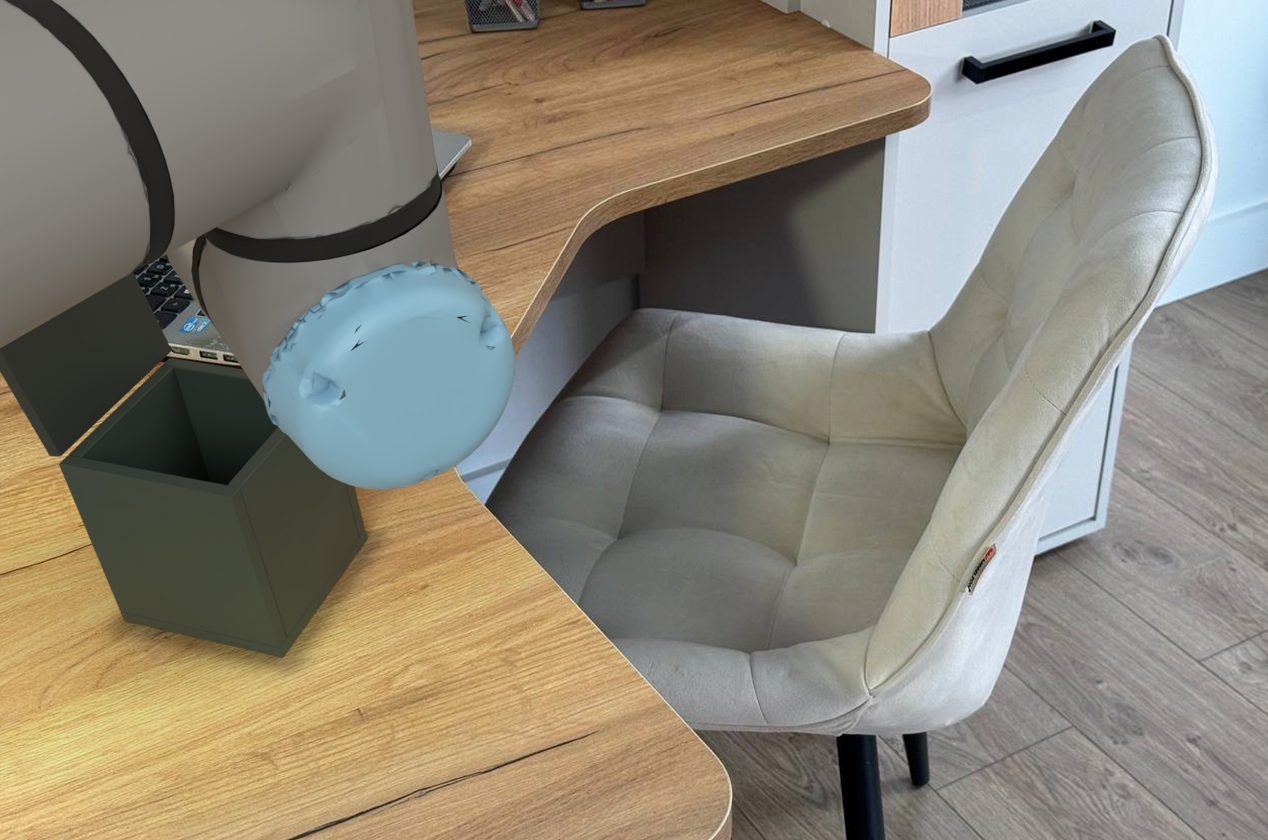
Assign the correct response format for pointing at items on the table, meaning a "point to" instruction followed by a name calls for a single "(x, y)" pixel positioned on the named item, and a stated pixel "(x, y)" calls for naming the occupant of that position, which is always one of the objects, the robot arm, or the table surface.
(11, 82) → the robot arm
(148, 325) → the trash lid
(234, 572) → the trash bin
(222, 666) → the table surface
